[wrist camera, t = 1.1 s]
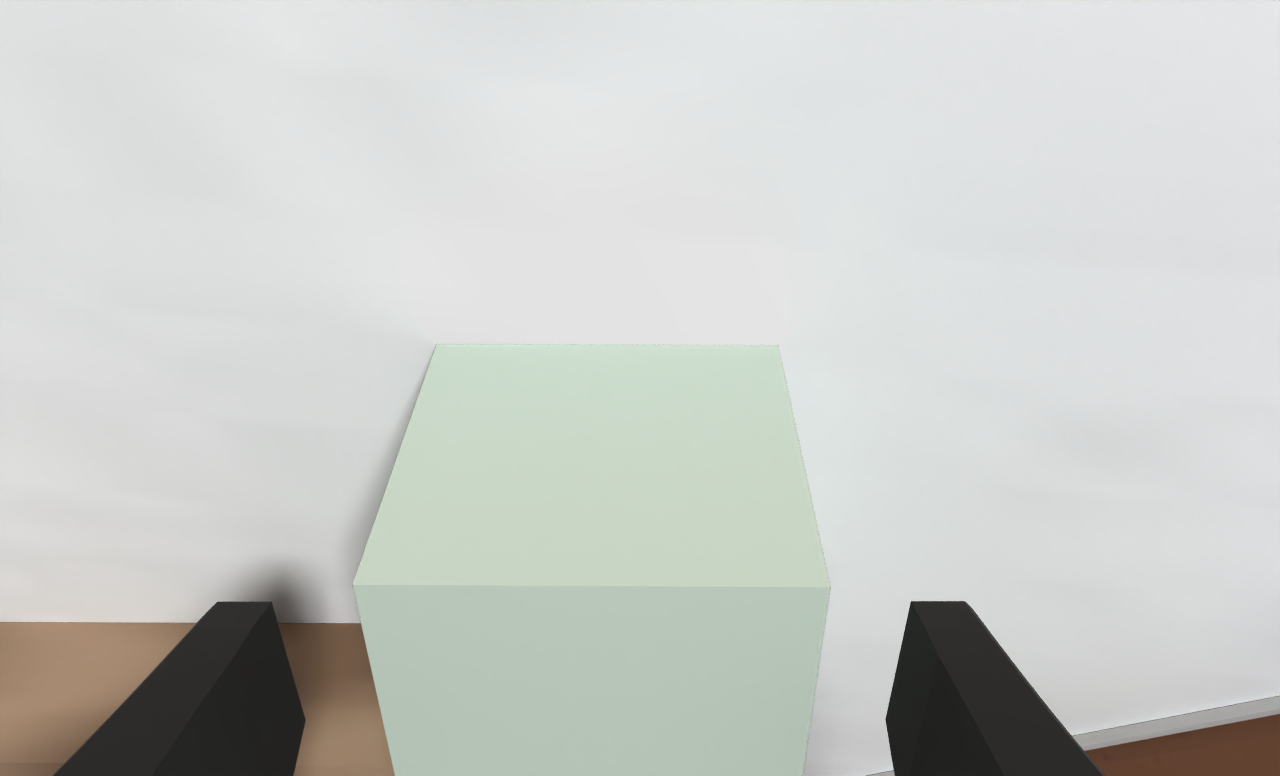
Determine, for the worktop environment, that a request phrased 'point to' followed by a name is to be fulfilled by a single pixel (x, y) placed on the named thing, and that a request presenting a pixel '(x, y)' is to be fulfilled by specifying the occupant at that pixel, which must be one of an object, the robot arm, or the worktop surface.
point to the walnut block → (128, 652)
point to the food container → (1191, 744)
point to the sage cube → (597, 566)
